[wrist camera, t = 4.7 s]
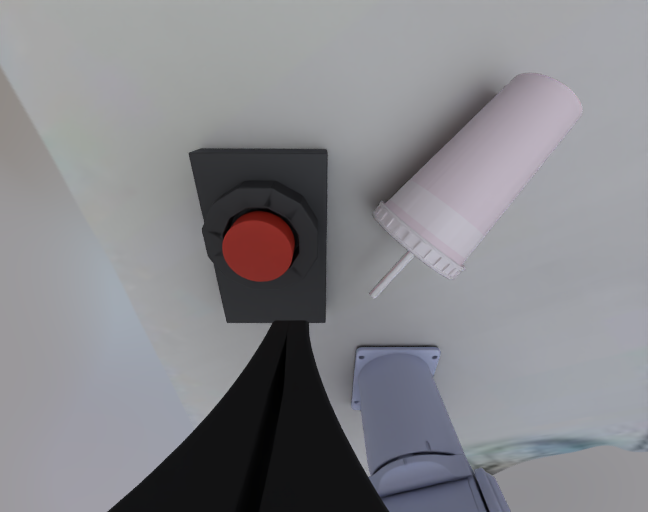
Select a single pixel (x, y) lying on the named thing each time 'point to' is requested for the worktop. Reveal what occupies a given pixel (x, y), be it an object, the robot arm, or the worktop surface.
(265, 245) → the power button
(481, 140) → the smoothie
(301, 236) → the black base plate
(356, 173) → the worktop surface
